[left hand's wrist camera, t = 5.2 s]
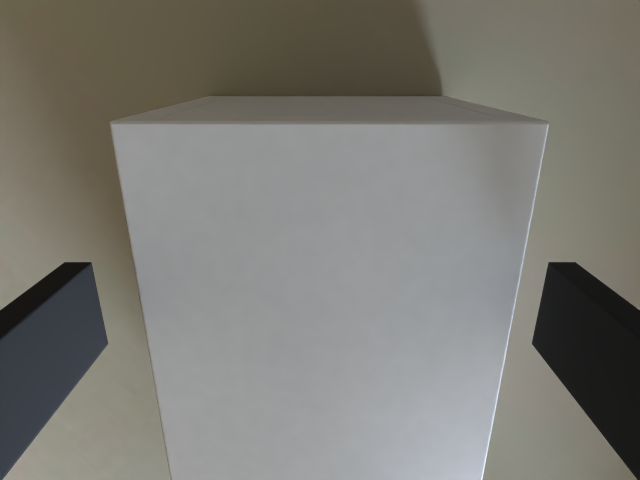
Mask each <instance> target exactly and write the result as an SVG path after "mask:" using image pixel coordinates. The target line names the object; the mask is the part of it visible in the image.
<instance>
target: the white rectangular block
mask: <svg viewBox="0 0 640 480" xmlns="http://www.w3.org/2000/svg"><path fill="white" fill-rule="evenodd" d="M548 127H549V122H547V121H544V120H540V119H536V118H532V117H528V116H524V115H520V114H516V113H512V112H507V111H503V110H499V109H495V108H491V107H487V106H483V105H479V104H475V103H470V102H466V101H462V100H458V99H454V98H451V97H446V96H206V97H203V98H199V99H195V100H191V101H187V102H183V103H179V104H175V105H171V106H167V107H163V108H159V109H155V110H151V111H147V112H143V113H139V114H135V115H131V116H128V117H124V118H120V119H116V120H113V121H110V129H111V135H112V141H113V147H114V153H115V158H116V164H117V170H118V176H119V181H120V187H121V193H122V199H123V205H124V210H125V216H126V222H127V228H128V234H129V239H130V245H131V251H132V257H133V263H134V268H135V274H136V280H137V286H138V292H139V297H140V303H141V309H142V315H143V321H144V326H145V332H146V338H147V344H148V350H149V355H150V361H151V367H152V373H153V378H154V384H155V390H156V396H157V402H158V407H159V413H160V419H161V425H162V431H163V436H164V442H165V448H166V454H167V460H168V465H169V471H170V477H171V480H482V478H483V473H484V468H485V462H486V457H487V452H488V446H489V441H490V436H491V430H492V425H493V420H494V414H495V409H496V404H497V398H498V393H499V388H500V382H501V377H502V372H503V366H504V361H505V356H506V350H507V345H508V340H509V335H510V329H511V324H512V319H513V313H514V308H515V303H516V297H517V292H518V287H519V281H520V276H521V271H522V265H523V260H524V255H525V249H526V244H527V239H528V233H529V228H530V223H531V217H532V212H533V207H534V201H535V196H536V191H537V185H538V180H539V175H540V169H541V164H542V159H543V153H544V148H545V143H546V137H547V132H548Z"/></svg>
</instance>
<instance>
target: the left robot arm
mask: <svg viewBox="0 0 640 480" xmlns="http://www.w3.org/2000/svg"><path fill="white" fill-rule="evenodd" d="M107 345H108V341H107V336H106V331H105V326H104V321H103V317H102V312H101V307H100V302H99V297H98V292H97V287H96V283H95V278H94V273H93V268H92V263H91V262H64V263H63V264H62V265H60V266H59V267H58V268H56V269H55V270H54V271H52V272H51V273H50V274H48V275H47V276H46V277H44V278H43V279H42V280H40V281H39V282H38V283H36V284H35V285H34V286H32V287H31V288H30V289H28V290H27V291H26V292H24V293H23V294H22V295H20V296H19V297H18V298H16V299H15V300H14V301H12V302H11V303H10V304H8V305H7V306H6V307H4V308H3V309H2V310H0V480H3V478H4V477H5V476H6V474H7V473H8V472H9V471H10V469H11V468H12V467H13V465H14V464H15V463H16V462H17V460H18V459H19V458H20V456H21V455H22V454H23V453H24V451H25V450H26V449H27V447H28V446H29V445H30V444H31V442H32V441H33V440H34V438H35V437H36V436H37V435H38V433H39V432H40V431H41V429H42V428H43V427H44V426H45V424H46V423H47V422H48V420H49V419H50V418H51V417H52V415H53V414H54V413H55V411H56V410H57V409H58V408H59V406H60V405H61V404H62V402H63V401H64V400H65V399H66V397H67V396H68V395H69V393H70V392H71V391H72V390H73V388H74V387H75V386H76V384H77V383H78V382H79V381H80V379H81V378H82V377H83V375H84V374H85V373H86V372H87V370H88V369H89V368H90V366H91V365H92V364H93V363H94V361H95V360H96V359H97V357H98V356H99V355H100V354H101V352H102V351H103V350H104V348H105V347H106V346H107ZM532 345H533V346H534V347H535V348H536V350H537V351H538V352H539V354H540V355H541V356H542V357H543V359H544V360H545V361H546V363H547V364H548V365H549V366H550V368H551V369H552V370H553V372H554V373H555V374H556V375H557V377H558V378H559V379H560V381H561V382H562V383H563V384H564V386H565V387H566V388H567V390H568V391H569V392H570V393H571V395H572V396H573V397H574V399H575V400H576V401H577V402H578V404H579V405H580V406H581V408H582V409H583V410H584V411H585V413H586V414H587V415H588V417H589V418H590V419H591V420H592V422H593V423H594V424H595V426H596V427H597V428H598V429H599V431H600V432H601V433H602V435H603V436H604V437H605V438H606V440H607V441H608V442H609V444H610V445H611V446H612V447H613V449H614V450H615V451H616V453H617V454H618V455H619V456H620V458H621V459H622V460H623V462H624V463H625V464H626V465H627V467H628V468H629V469H630V471H631V472H632V473H633V474H634V476H635V477H636V478H637V480H640V310H638V309H637V308H636V307H634V306H633V305H632V304H630V303H629V302H628V301H626V300H625V299H624V298H622V297H621V296H620V295H618V294H617V293H616V292H614V291H613V290H612V289H610V288H609V287H608V286H606V285H605V284H604V283H602V282H601V281H600V280H598V279H597V278H596V277H594V276H593V275H592V274H590V273H589V272H588V271H586V270H585V269H584V268H582V267H581V266H580V265H578V264H577V263H576V262H549V263H548V268H547V273H546V278H545V283H544V287H543V292H542V297H541V302H540V307H539V312H538V317H537V321H536V326H535V331H534V336H533V341H532Z"/></svg>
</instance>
